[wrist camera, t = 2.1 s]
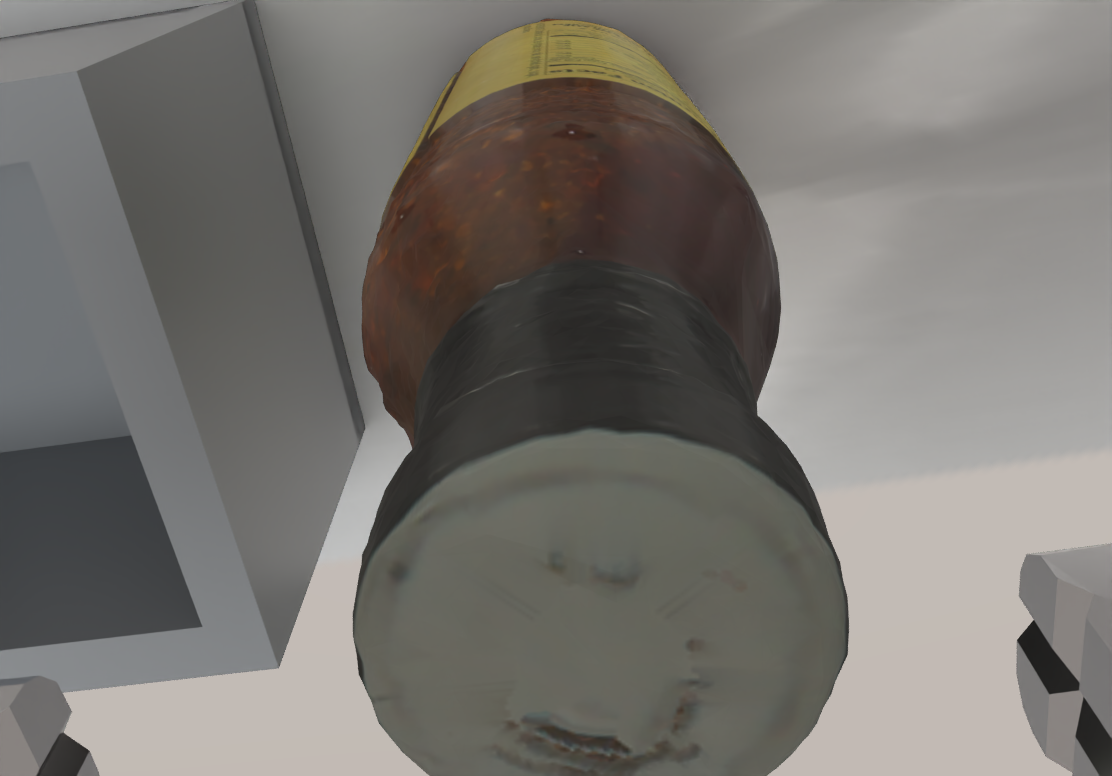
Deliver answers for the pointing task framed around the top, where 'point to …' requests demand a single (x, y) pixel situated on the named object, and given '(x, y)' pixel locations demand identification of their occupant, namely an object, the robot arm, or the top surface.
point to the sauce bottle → (585, 438)
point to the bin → (159, 355)
